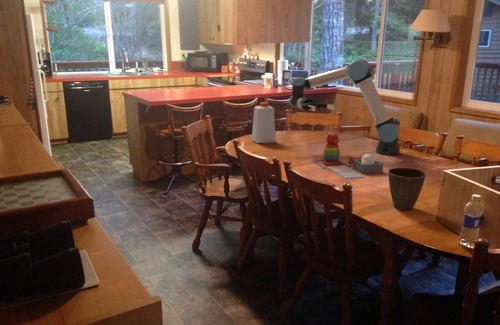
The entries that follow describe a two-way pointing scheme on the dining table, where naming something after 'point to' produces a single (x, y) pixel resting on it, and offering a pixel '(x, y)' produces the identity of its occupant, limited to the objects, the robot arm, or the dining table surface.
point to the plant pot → (405, 187)
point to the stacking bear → (332, 151)
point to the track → (342, 170)
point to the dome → (368, 159)
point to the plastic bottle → (263, 124)
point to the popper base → (367, 167)
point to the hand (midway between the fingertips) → (324, 108)
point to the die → (353, 159)
